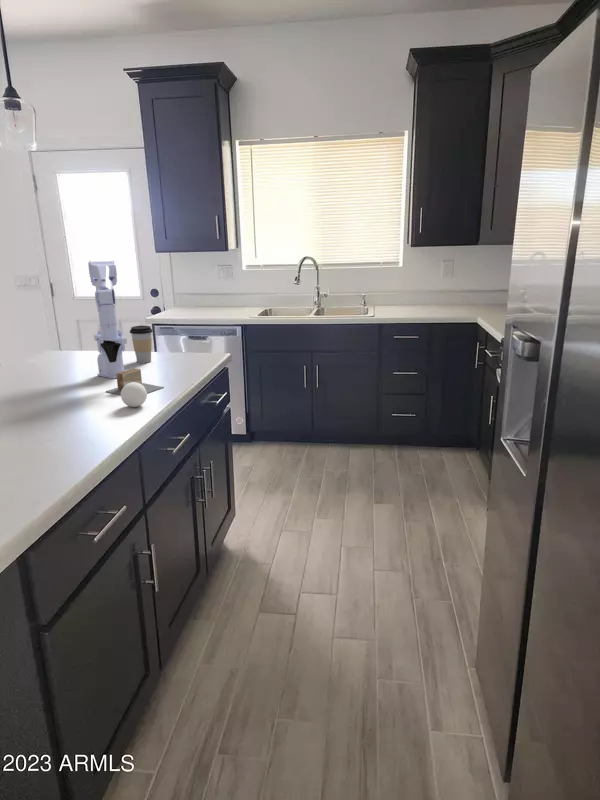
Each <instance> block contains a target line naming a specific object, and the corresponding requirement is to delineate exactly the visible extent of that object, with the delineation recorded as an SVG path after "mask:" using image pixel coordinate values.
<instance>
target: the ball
mask: <svg viewBox="0 0 600 800" xmlns="http://www.w3.org/2000/svg"><path fill="white" fill-rule="evenodd" d="M147 396H148V394H147V392H146V389H145V388H144V386H143V385H141V384H139V383H136V382H131V383H128V384H126V385H125V386H124V387H123V389H122V391H121V395H120V397H121V400H122V402H123V404H124V405H125V406H128V407H131V408H136V407H140V406H142V405H143V404H144V403H145V402H146V400H147Z"/></svg>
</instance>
